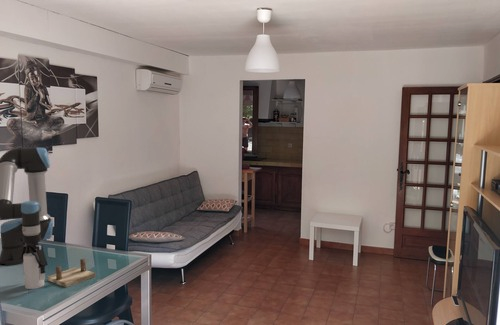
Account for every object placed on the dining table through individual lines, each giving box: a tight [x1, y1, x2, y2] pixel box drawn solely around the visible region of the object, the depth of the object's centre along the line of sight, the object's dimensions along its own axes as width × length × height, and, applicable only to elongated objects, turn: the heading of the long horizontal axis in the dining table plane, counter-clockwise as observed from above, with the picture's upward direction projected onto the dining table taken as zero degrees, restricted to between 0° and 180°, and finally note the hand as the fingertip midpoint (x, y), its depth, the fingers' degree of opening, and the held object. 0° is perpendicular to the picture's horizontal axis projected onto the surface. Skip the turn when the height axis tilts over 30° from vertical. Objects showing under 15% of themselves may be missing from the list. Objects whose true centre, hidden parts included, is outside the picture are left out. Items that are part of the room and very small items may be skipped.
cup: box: [23, 253, 45, 290], centre depth 197 cm, size 8×8×16 cm
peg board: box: [47, 258, 96, 288], centre depth 206 cm, size 16×16×8 cm
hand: (34, 276), depth 198 cm, fingers open, 13 cm apart
